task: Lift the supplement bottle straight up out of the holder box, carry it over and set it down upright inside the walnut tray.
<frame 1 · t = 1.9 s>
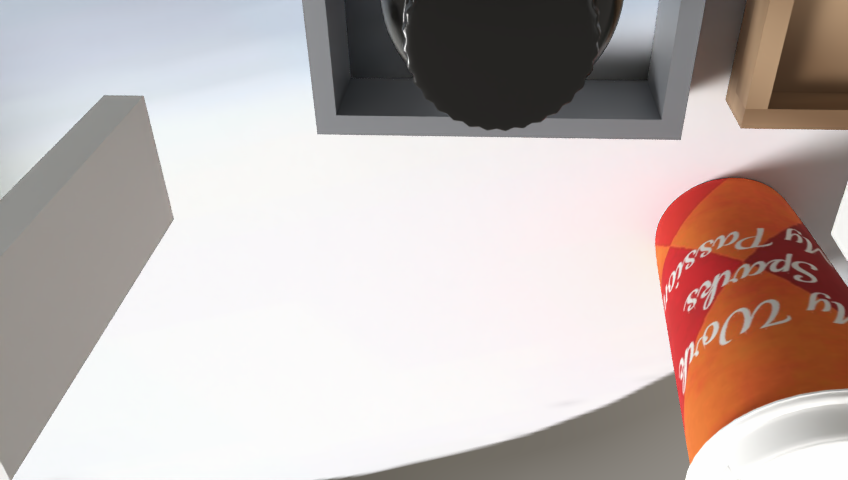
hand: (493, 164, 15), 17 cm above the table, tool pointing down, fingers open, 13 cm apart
coffee cup: (719, 231, 36), on the table
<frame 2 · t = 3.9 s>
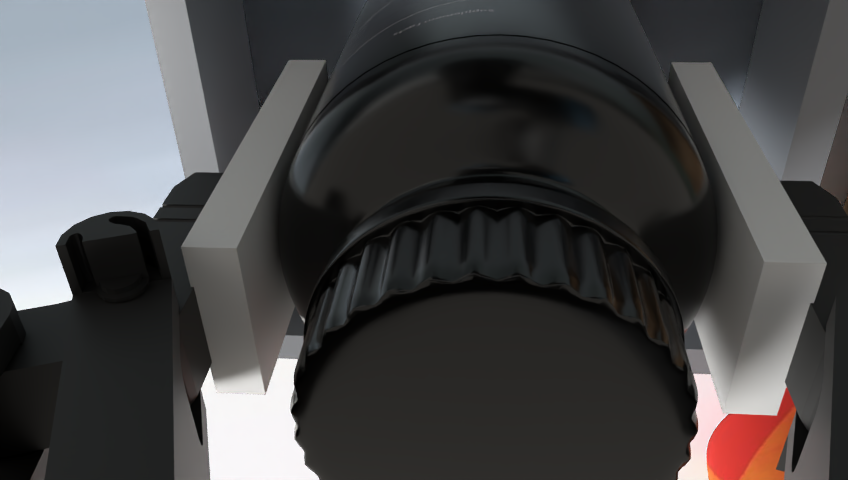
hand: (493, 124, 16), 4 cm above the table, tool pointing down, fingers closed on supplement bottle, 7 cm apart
coffee cup: (795, 444, 26), on the table
holder box: (494, 58, 19), on the table
supplement bottle: (494, 55, 19), resting in holder box, touching gripper
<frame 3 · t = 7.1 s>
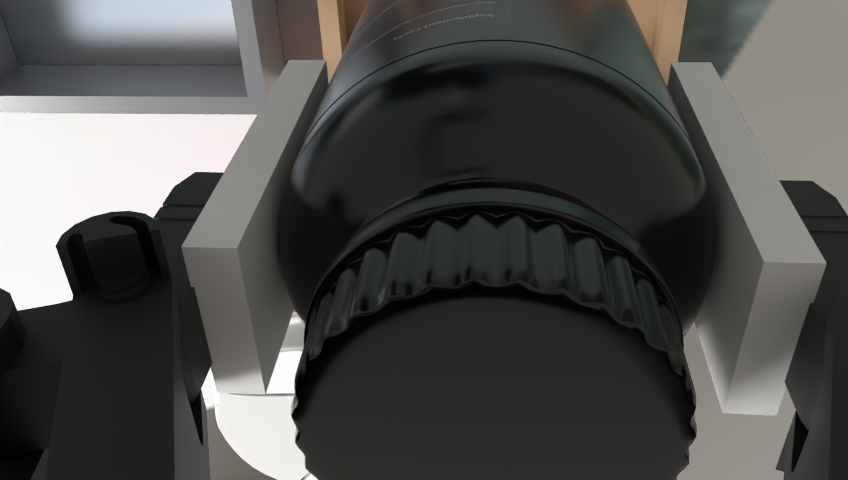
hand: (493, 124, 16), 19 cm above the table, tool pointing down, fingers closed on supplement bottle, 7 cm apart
coffee cup: (370, 200, 40), on the table
supplement bottle: (494, 58, 19), point 15 cm above the table, touching gripper
when the fingers open (6 cm above the table, at t = 10.2 s): supplement bottle drops 1 cm, resting on tray.
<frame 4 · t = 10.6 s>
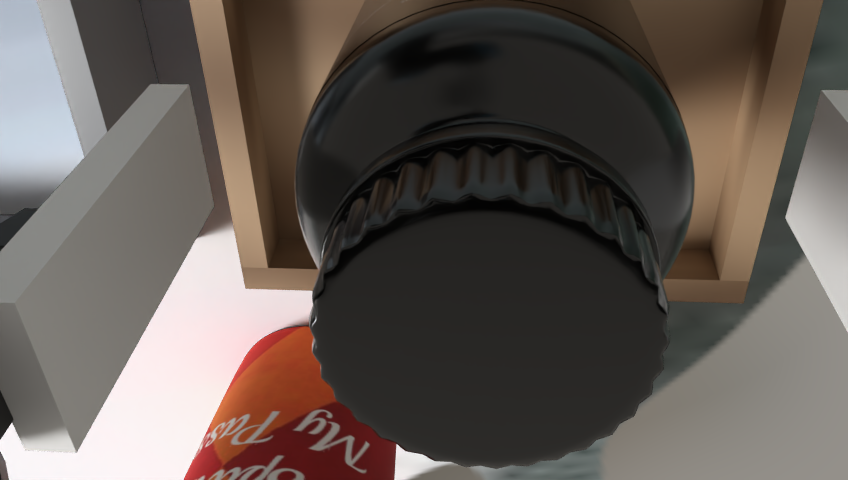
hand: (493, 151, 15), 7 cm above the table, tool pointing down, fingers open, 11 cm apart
coffee cup: (318, 382, 30), on the table
supplement bottle: (494, 35, 20), point 1 cm above the table, touching tray
tray: (495, 23, 21), on the table
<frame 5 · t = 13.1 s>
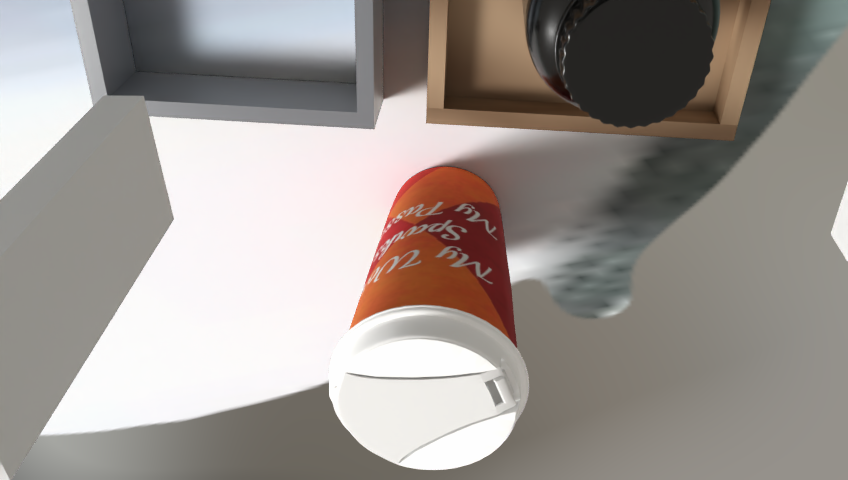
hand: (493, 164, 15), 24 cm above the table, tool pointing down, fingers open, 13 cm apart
coffee cup: (445, 211, 44), on the table
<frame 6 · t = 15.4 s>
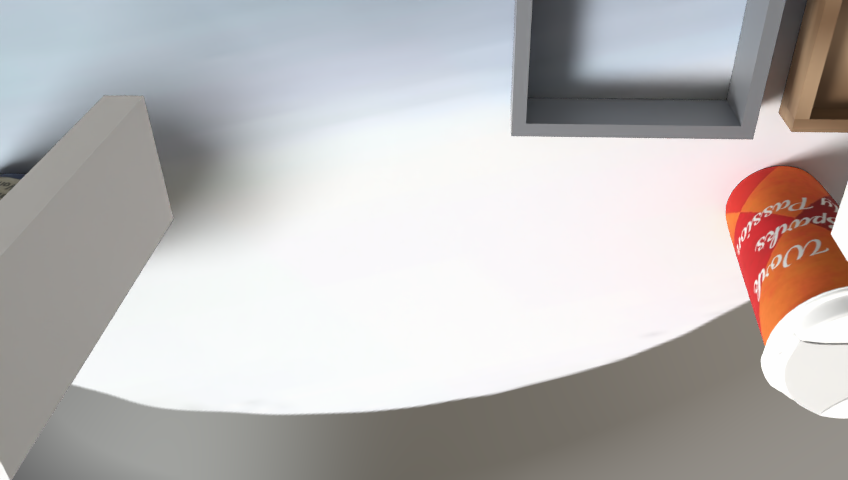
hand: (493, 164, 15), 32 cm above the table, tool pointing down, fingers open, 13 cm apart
coffee cup: (770, 204, 51), on the table
canister: (41, 220, 56), on the table
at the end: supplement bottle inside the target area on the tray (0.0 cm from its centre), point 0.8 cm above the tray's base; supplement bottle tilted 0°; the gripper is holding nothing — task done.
